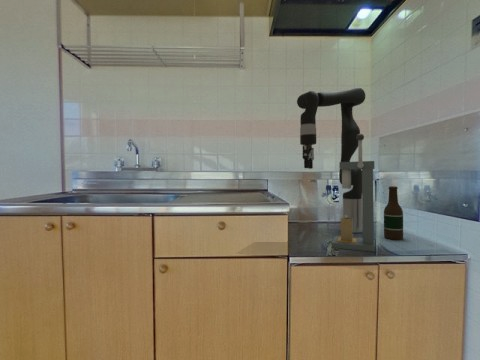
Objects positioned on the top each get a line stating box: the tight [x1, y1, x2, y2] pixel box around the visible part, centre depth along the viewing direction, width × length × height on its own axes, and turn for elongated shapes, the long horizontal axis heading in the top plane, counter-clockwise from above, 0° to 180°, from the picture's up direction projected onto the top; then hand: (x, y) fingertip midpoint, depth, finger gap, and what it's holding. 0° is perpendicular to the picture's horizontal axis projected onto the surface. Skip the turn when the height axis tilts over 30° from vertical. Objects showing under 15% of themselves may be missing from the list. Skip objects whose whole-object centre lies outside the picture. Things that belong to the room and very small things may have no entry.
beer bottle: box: [383, 185, 404, 241], centre depth 123 cm, size 8×8×24 cm
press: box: [331, 133, 376, 253], centre depth 111 cm, size 13×16×46 cm
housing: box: [340, 215, 354, 241], centre depth 112 cm, size 4×4×10 cm
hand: (308, 168), depth 128 cm, fingers open, 8 cm apart
